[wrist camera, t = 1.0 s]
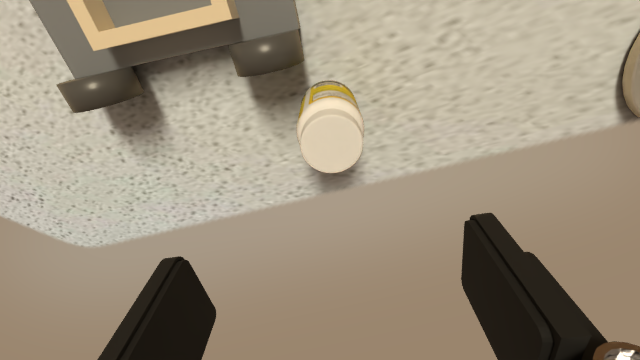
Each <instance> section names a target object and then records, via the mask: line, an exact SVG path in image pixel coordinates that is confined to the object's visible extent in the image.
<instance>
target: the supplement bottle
mask: <svg viewBox="0 0 640 360" xmlns="http://www.w3.org/2000/svg"><path fill="white" fill-rule="evenodd" d="M363 137H364V122H363V119H362V116H361V113H360V111H359V108H358V105H357V103H356V100H355V98H354V96H353V94H352V92H351V91H350V90H349V88H348V87H346V86H345V85H344V84H342V83H340V82H337V81H333V80H325V81H321V82H318V83H316V84H314V85H313V86H311V87H310V88H309V89H308V90H307V92H306V93H305V95H304V97H303V99H302V102H301V108H300V113H299V118H298V123H297V138H298V142H299V144H300V148H301V152H302V155H303V157H304V159H305V160H306V162H307V163H308V164H309V165H310V166H311V167H313V168H314V169H316V170H318V171H321V172H324V173H338V172H342V171H344V170H346V169H348V168H350V167H351V166H352V165H354V164H355V163H356V162H357V160H358V159H359V157H360V155H361V153H362V149H363Z"/></svg>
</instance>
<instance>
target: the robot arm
mask: <svg viewBox="0 0 640 360" xmlns="http://www.w3.org/2000/svg"><path fill="white" fill-rule="evenodd" d="M622 84H623V95H624V98H625V101H626V103H627V106H628V107H629V108H630V110H631V111H632V112H633V113H634V114H635V115H636V116H638V117H639V118H640V33H639V35H638V37H637V39H636V41H635V43H634V44H633V46H632V48H631V50H630V53H629V56H628V59H627V61H626V64H625V67H624V74H623V81H622ZM461 280H462V286H463V289H464V291H465V293H466V295H467V297H468V299H469V301H470V304H471V305H472V308H473V310H474V312H475V314H476V316H477V318H478V320H479V322H480V324H481V326H482V328H483V330H484V332H485V334H486V336H487V338H488V340H489V342H490V345H491V347H492V349H493V351H494V353H495V355H496V357H497V359H498V360H640V347H639V346H636V345H633V344H629V343H625V342H607V340H606V339H605V338H604V337H603V336H602V334H601V333H600V332H599V331H598V330H597V329H596V327H595V326H594V325H593V324H592V323H591V321H590V320H589V319H588V318H587V317H586V315H585V314H584V313H583V312H582V311H581V309H580V308H579V307H578V306H577V305H576V304H575V302H574V301H573V300H572V299H571V298H570V296H569V295H568V294H567V293H566V292H565V290H564V289H563V288H562V287H561V286H560V285H559V283H558V282H557V281H556V280H555V279H554V277H553V276H552V275H551V274H550V273H549V271H548V270H547V269H546V268H545V267H544V265H543V264H542V263H541V262H540V261H539V260H538V258H537V257H536V256H535V255H534V254H532V253H530V252H523V250H522V249H521V248H520V247H519V245H518V244H517V243H516V242H515V240H514V239H513V238H512V237H511V235H510V234H509V233H508V232H507V231H506V229H505V228H504V227H503V226H502V224H501V223H500V222H499V221H498V219H497V218H496V217H495V216H494V215H493V214H492V213H485V214H478V215H472V216H471V217H470V220H468V221H465V226H464V242H463V259H462V277H461ZM215 319H216V309H215V307H214V305H213V304H212V302H211V300H210V298H209V297H208V295H207V293H206V291H205V289H204V288H203V286H202V284H201V282H200V281H199V279H198V277H197V275H196V274H195V272H194V270H193V268H192V267H191V265H190V263H189V261H187V260H184V258H183V257H172V258H165V259H163V260H162V261H161V262H160V264H159V265H158V266H157V268H156V270H155V271H154V273H153V274H152V276H151V278H150V279H149V280H148V282H147V284H146V285H145V287H144V288H143V290H142V291H141V293H140V294H139V296H138V298H137V299H136V301H135V302H134V304H133V305H132V307H131V309H130V310H129V312H128V313H127V315H126V316H125V318H124V319H123V321H122V322H121V324H120V326H119V327H118V329H117V330H116V332H115V333H114V335H113V337H112V338H111V340H110V341H109V343H108V344H107V346H106V347H105V349H104V351H103V352H102V354H101V355H100V357H99V358H98V360H201V359H202V356H203V354H204V351H205V348H206V345H207V342H208V339H209V336H210V333H211V330H212V328H213V325H214V322H215Z"/></svg>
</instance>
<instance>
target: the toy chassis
mask: <svg viewBox="0 0 640 360" xmlns="http://www.w3.org/2000/svg"><path fill="white" fill-rule="evenodd" d="M29 1H30V3H31V4H32V6H33V8H34V9H35V11H36V13H37V14H38V16H39V18H40V20H41V21H42V23H43V25H44V26H45V28H46V30H47V32H48V33H49V35H50V37H51V38H52V40H53V42H54V44H55V45H56V47H57V49H58V50H59V52H60V54H61V55H62V57H63V59H64V61H65V62H66V64H67V66H68V67H69V69H70V71H71V73H72V74H73V76H74V78H75V79H73V80H69V81H66V82H63V83H60V84H57V87H58V88H59V90H60V92H61V93H62V95H63V96H64V98H65V100H66V101H67V103H68V104H69V106H70V108H71V109H72V111H73V112H74V113H79V112H85V111H90V110H94V109H98V108H102V107H106V106H109V105H113V104H116V103H119V102H122V101H125V100H128V99H131V98H134V97H136V96H138V95H140V94H142V93H143V92H144V91H143V89H142V87H141V85H140V83H139V80H138V78H137V76H136V74H135V72H134V70H133V68H132V66H135V65H139V64H144V63H148V62H153V61H157V60H162V59H166V58H170V57H175V56H179V55H184V54H188V53H193V52H197V51H202V50H206V49H211V48H215V47H220V46H224V45H228V47H229V50H230V53H231V56H232V59H233V63H234V66H235V69H236V72H237V75H238V76H240V77H247V76H255V75H261V74H266V73H271V72H275V71H279V70H282V69H286V68H289V67H292V66H294V65H297V64H299V63H301V62H303V61H304V55H303V50H302V46H301V41H300V36H299V31H298V29H299V28H300V23H299V18H298V14H297V9H296V4H295V0H29ZM233 43H234V44H233ZM229 44H231V45H229Z"/></svg>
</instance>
